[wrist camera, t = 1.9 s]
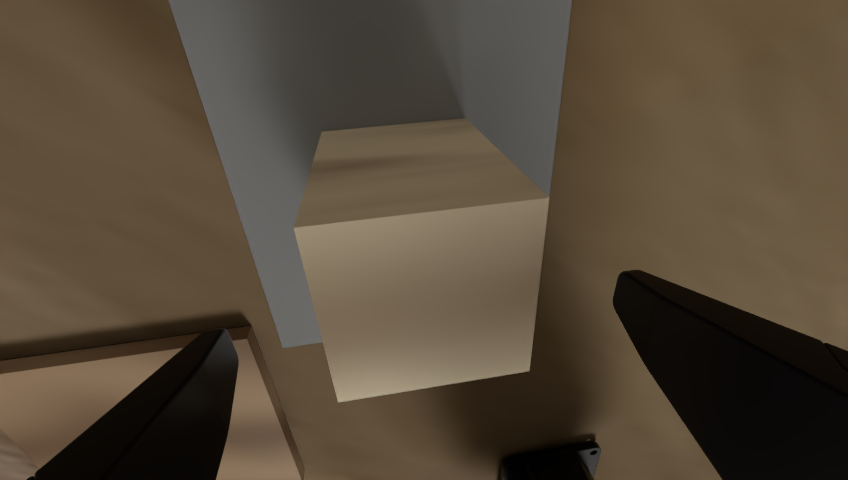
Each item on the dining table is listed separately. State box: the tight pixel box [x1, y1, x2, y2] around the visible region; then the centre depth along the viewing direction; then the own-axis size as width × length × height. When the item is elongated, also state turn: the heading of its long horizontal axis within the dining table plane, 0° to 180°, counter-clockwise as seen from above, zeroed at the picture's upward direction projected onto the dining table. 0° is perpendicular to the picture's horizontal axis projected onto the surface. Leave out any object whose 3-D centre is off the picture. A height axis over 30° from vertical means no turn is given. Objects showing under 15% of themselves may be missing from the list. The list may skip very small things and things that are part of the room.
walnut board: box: [0, 326, 305, 480], centre depth 19 cm, size 11×11×1 cm
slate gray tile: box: [169, 0, 572, 348], centre depth 15 cm, size 14×12×1 cm
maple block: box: [294, 118, 549, 402], centre depth 12 cm, size 5×5×7 cm
